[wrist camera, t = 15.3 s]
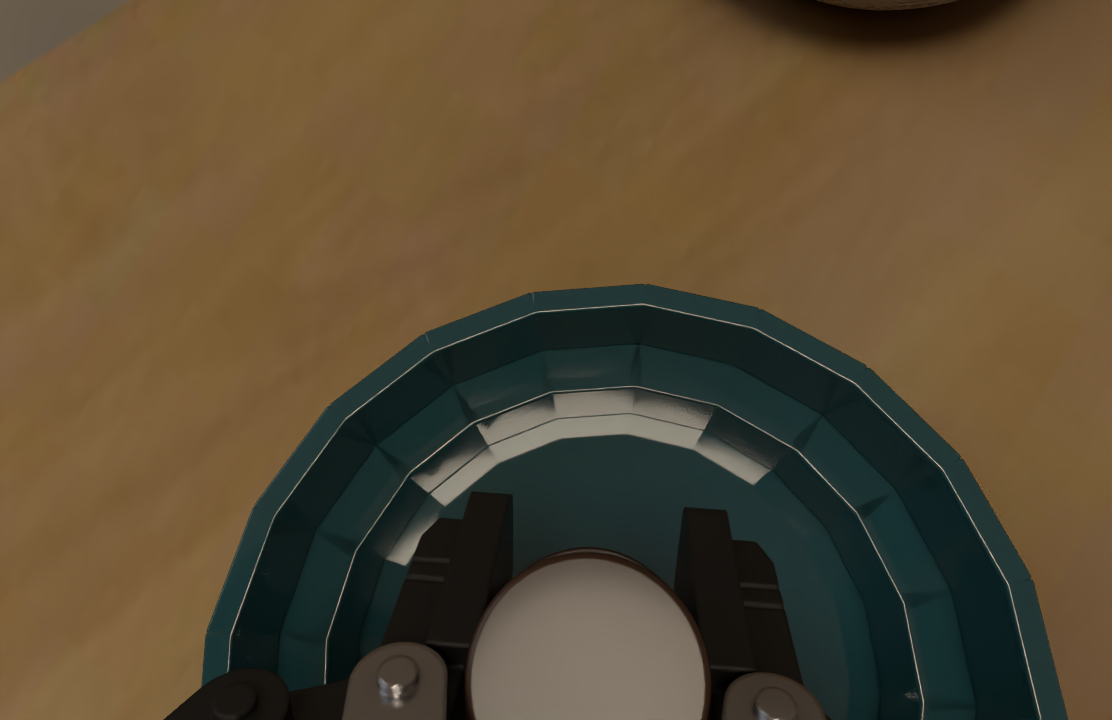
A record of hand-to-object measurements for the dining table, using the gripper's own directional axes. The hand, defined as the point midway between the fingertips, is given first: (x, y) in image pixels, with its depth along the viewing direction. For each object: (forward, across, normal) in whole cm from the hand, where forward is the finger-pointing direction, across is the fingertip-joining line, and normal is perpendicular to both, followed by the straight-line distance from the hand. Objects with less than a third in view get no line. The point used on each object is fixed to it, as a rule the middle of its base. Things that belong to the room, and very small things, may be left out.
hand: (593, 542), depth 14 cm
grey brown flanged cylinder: (+4, 0, +6) cm, 7 cm away
